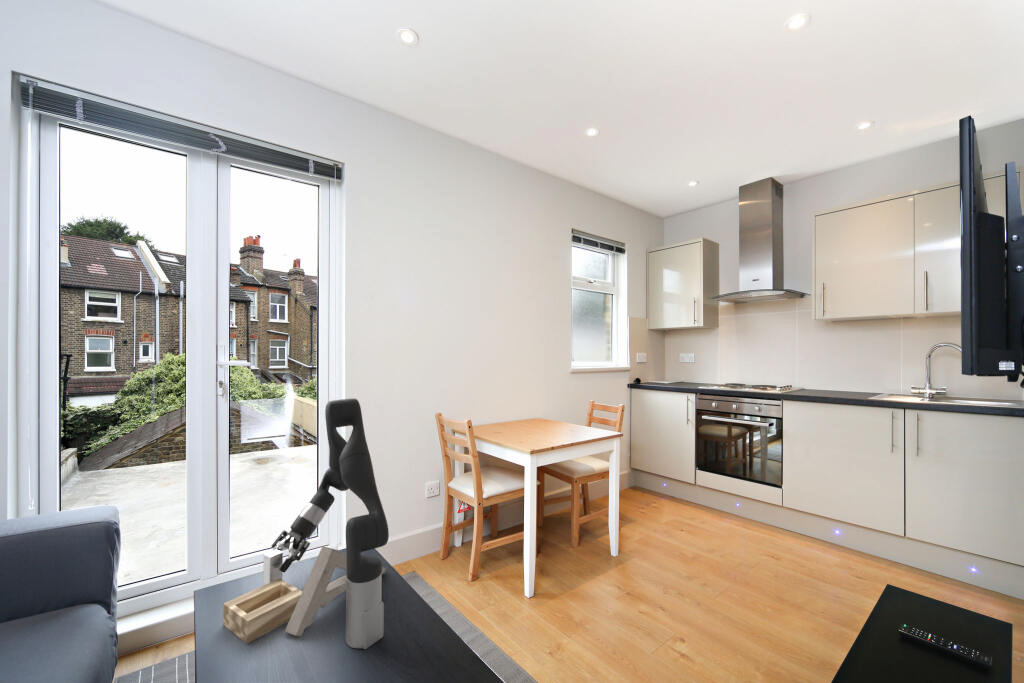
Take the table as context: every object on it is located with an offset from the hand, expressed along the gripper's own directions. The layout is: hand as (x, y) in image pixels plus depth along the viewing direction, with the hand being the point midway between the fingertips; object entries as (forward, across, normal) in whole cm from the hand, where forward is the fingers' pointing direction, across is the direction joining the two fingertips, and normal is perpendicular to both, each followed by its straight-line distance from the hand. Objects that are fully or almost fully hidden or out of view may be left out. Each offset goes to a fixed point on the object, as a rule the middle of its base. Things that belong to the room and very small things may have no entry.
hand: (274, 567), depth 137 cm
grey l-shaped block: (+8, 0, +3) cm, 9 cm away
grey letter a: (-1, +22, +13) cm, 25 cm away
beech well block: (+12, +11, 0) cm, 16 cm away
